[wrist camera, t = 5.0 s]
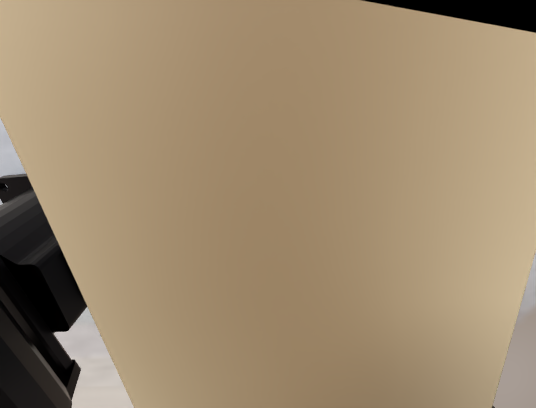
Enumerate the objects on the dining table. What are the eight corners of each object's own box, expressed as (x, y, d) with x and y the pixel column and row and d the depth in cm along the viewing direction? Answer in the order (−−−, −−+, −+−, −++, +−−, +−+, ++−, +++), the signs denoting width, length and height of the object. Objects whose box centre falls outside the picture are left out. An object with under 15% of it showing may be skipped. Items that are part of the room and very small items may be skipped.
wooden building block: (264, 469, 12) (248, 656, 8) (165, 23, 6) (-54, 0, 2) (380, 473, 11) (417, 673, 8) (407, -12, 5) (636, -114, 2)
